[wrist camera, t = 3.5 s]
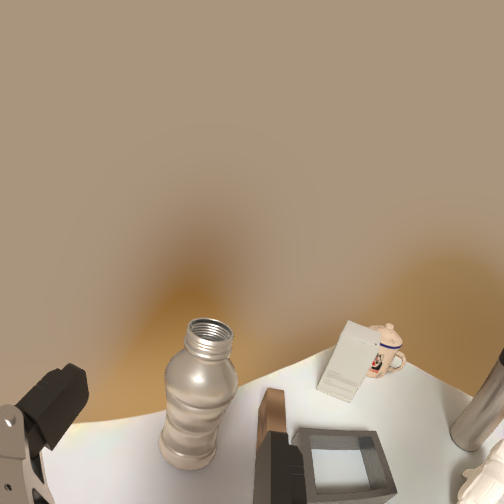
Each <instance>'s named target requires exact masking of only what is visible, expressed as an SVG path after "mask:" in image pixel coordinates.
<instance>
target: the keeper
mask: <svg viewBox="0 0 504 504" xmlns="http://www.w3.org/2000/svg"><path fill="white" fill-rule="evenodd" d="M292 445H295V446H297V447H298V448H299V450H300V452H301V453H302V455H303V463H304V466H303V468H304V473H305V474H304V476H305V484H306V495H307V504H384V503H385V502H387V501H388V500H389V499H391V498H392V497H393V496H395V495H396V494H397V490H396V487H395V483H394V480H393V477H392V474H391V471H390V469H389V466H388V463H387V460H386V457H385V454H384V451H383V449H382V446H381V443H380V440H379V438H378V435H377V432H376V431H343V430H324V429H311V428H301V427H300V429H299V430H298V432H297V433H296V435H295V437H294V438H293V440H292ZM311 449H327V450H361V454H362V457H363V461H364V464H365V468H366V471H367V475H368V479H369V483H370V486H371V491H363V492H353V493H340V494H316V486H315V477H314V468H313V460H312V452H311Z"/></svg>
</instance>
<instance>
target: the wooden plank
mask: <svg viewBox="0 0 504 504" xmlns="http://www.w3.org/2000/svg"><path fill="white" fill-rule="evenodd" d="M269 430H271V431H278V432H285V433H286V415H285V398H284V390H278V389H273V388H267V390H266V393H265V395H264V398H263V400H262V402H261V405H260V407H259V412H258V431H257V448H256V455H257V452H258V449H259V447H260V445H261V443H262V441H263V440H264V438H265V436H266V434H267V432H268V431H269ZM253 497H254V495H253Z"/></svg>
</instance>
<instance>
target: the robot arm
mask: <svg viewBox="0 0 504 504" xmlns="http://www.w3.org/2000/svg"><path fill="white" fill-rule="evenodd" d="M88 397H89V391H88V386H87V378H86V373H85V371H84V370H83V369H81V368H79V367H77V366H75V365H73V364H71V363H69V364H67V365H66V366H65V367H64V368H63V369H62V370H60V369H58V368H57V369H55V370H53V371H50V372H49V373H47V374H46V375H45V376H44V377H43V378H42V380H40V381H39V382H38V383H37V384H36V386H34V387H33V388H32V389H31V390H30V391H29V392H28V393H27V394H26V395H25V396H24V397H23V398H22V399H21V400H20V401H19V402H18V403H17V404H16V405H14V406H13V405H3V406H1V407H0V504H55V502H54V499H53V496H52V494H51V492H50V490H49V488H48V484H47V479H46V475H45V469H44V463H43V457H42V451H41V450H42V448H43V447H44V446H45V447H47V448H48V449H50V450H51V451H52V450H53V449H54V448H55V446H56V445H57V443H58V442H59V441H60V439H61V438H62V436H63V435H64V434H65V432H66V431H67V429H68V428H69V427H70V425H71V424H72V422H73V421H74V420H75V418H76V417H77V416H78V414H79V413H80V412H81V410H82V409H83V408H84V406H85V405H86V403H87V401H88ZM503 418H504V349H503V350H502V352H501V354H500V356H499V358H498V360H497V361H496V363H495V365H494V367H493V368H492V370H491V372H490V373H489V375H488V377H487V378H486V380H485V382H484V383H483V385H482V386H481V388H480V389H479V391H478V392H477V394H476V395H475V397H474V398H473V399H472V401H471V402H470V404H469V405H468V406H467V408H466V409H465V410H464V412H463V413H462V414H461V415H460V417H459V418H458V419H457V421H456V422H455V423H454V424H453V426H452V427H451V431H450V432H451V437H452V439H453V441H454V442H455V443H456V444H457V445H458V446H459V447H460V448H462V449H464V450H466V451H475V450H477V449H478V448H479V447H480V446H481V445H482V443H483V442H484V441H485V440H486V439H487V438H488V437H489V436H490V434H491V433H492V432H493V431H494V430H495V428H496V427H497V426H498V425H499V423H500V422H501V421H502V420H503ZM303 466H304V463H303V455H302V453H301V452H300V450H299V448H298V447H297V446H295V445H289V442H288V434H287V433H285V432H278V431H271V430H269V431H268V432H267V434H266V436H265V438H264V440H263V441H262V443H261V445H260V447H259V449H258V452H257V455H256V462H255V480H254V497H253V504H307V495H306V484H305V476H304V474H305V473H304V468H303Z"/></svg>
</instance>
